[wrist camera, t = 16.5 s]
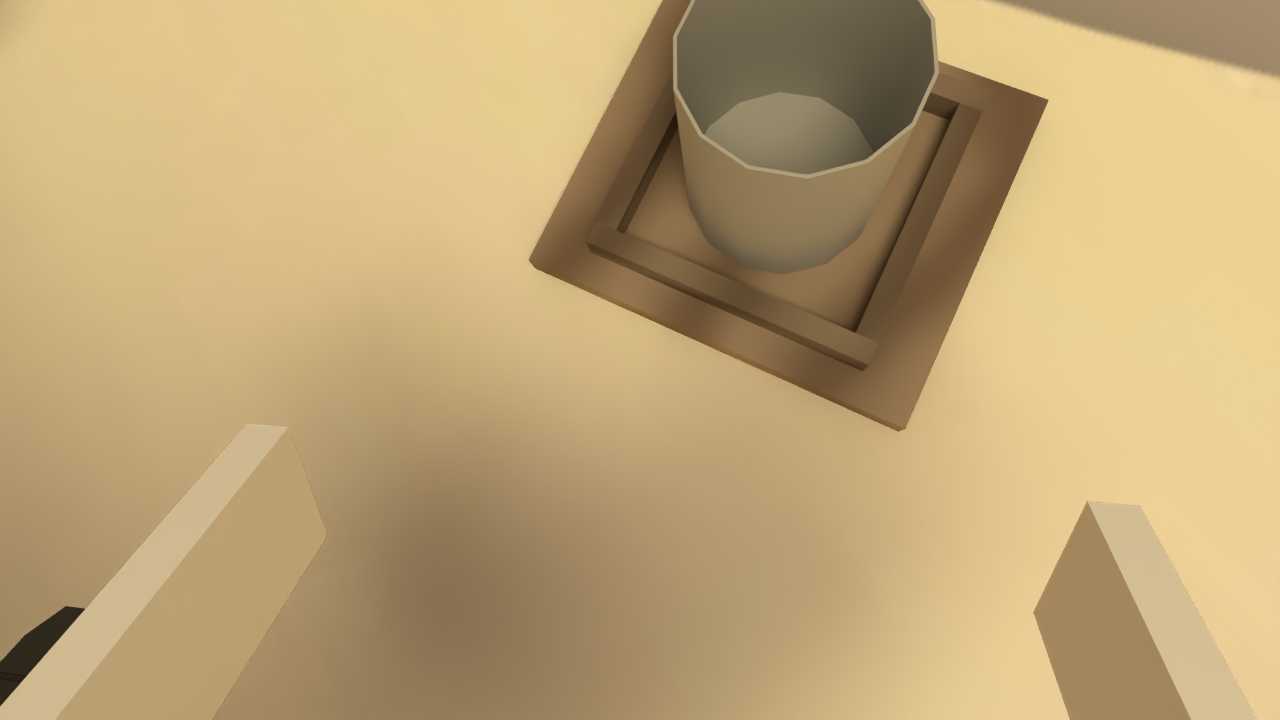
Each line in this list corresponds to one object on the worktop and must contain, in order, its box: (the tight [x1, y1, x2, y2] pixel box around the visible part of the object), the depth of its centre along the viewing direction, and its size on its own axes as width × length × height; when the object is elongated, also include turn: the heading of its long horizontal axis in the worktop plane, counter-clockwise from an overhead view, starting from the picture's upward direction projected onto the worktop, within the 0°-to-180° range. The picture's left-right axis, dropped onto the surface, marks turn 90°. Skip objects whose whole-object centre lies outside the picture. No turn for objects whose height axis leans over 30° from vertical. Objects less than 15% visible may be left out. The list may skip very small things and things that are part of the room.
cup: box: [673, 0, 939, 275], centre depth 29 cm, size 8×8×10 cm
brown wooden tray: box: [529, 0, 1048, 431], centre depth 33 cm, size 18×16×3 cm
